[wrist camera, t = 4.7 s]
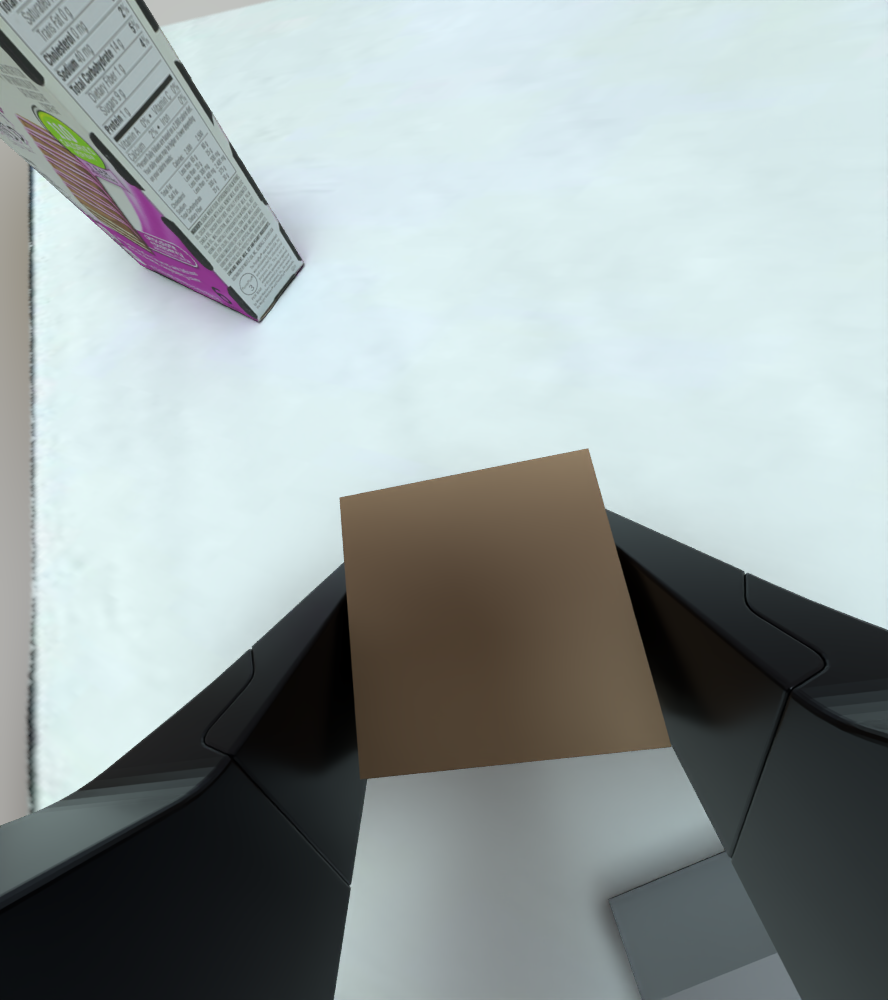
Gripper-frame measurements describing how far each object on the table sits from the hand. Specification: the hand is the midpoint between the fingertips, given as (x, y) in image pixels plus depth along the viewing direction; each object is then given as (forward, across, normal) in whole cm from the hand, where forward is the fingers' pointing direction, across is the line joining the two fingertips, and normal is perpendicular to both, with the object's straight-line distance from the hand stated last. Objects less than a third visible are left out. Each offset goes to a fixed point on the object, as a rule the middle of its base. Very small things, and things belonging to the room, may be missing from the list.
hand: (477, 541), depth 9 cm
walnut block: (+4, 0, +6) cm, 7 cm away
